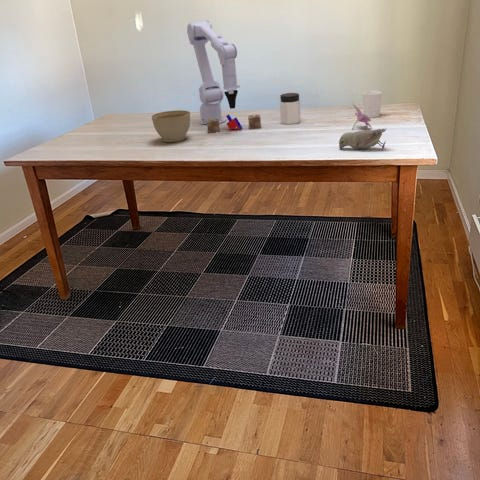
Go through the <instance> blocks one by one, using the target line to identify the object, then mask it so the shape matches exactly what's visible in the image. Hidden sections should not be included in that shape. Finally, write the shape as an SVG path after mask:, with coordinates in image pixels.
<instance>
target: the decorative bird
mask: <svg viewBox="0 0 480 480" xmlns="http://www.w3.org/2000/svg"><path fill="white" fill-rule="evenodd" d="M386 131H387V128H381V129H380V128H378V129H371V130H358V131H354V132H353V131H352V132H351V131H349V132H345V133H343V134H342V135H341V136H340V138H339V141H338V147H339V148H338V149H339V150H342V149H344V148H345V147H351V148H352V149H355V150H361V149H362V150H363V149H370V148H372V147H375V146H377V145H379V146H380V147H382V148H381V150H383V149H384V148H385V144H386V143H387V142H386V141H387V140H385V141H384V142H383V143H382V142H381V137H382V136H383V133H385V132H386Z"/></svg>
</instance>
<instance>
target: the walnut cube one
mask: <svg viewBox="0 0 480 480" xmlns="http://www.w3.org/2000/svg"><path fill="white" fill-rule="evenodd" d="M247 118H248V128H249V130H258V129H259V130H260V129H262V123H261V115H260V114H252V115H247Z"/></svg>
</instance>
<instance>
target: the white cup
mask: <svg viewBox="0 0 480 480" xmlns="http://www.w3.org/2000/svg"><path fill="white" fill-rule="evenodd" d="M382 95H383V91H379V90H371V91H364V92H362V107H363V114H365V115H367V116H368V117H369V118H370V119H372V118H379V117H380V114H381V105H382Z"/></svg>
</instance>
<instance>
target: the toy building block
mask: <svg viewBox="0 0 480 480" xmlns="http://www.w3.org/2000/svg"><path fill="white" fill-rule="evenodd" d="M225 117H226V118H227V120H228V122H227V123H226V126H227V127H228V129H229V131H230V130H231V131H232V130H234V129H236V128H237V130H238V131H240V130H241V129H242V128H243V125H242V124H241V122H240V121H239V119H238V117H234V118H232V117H231V116H230V114H227V115H225Z"/></svg>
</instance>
